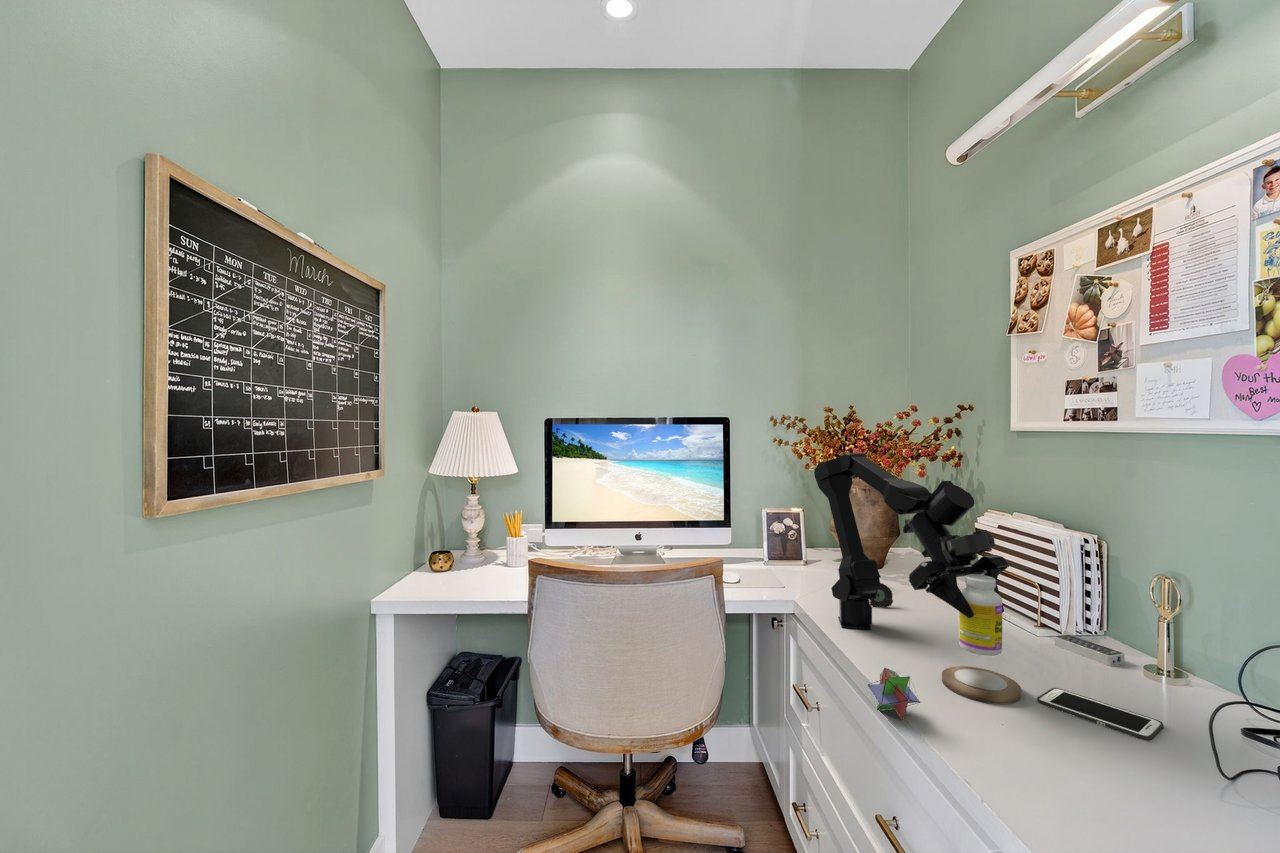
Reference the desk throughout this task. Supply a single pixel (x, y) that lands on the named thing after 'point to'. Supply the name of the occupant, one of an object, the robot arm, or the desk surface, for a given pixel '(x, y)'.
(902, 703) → the geometric puzzle
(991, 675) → the brown rimmed plate
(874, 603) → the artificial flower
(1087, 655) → the multiport hub
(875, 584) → the robot arm
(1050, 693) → the cell phone
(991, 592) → the supplement bottle
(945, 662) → the desk surface
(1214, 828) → the desk surface
